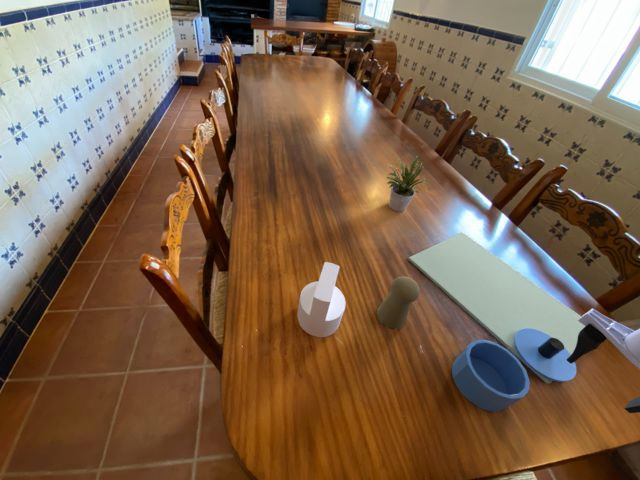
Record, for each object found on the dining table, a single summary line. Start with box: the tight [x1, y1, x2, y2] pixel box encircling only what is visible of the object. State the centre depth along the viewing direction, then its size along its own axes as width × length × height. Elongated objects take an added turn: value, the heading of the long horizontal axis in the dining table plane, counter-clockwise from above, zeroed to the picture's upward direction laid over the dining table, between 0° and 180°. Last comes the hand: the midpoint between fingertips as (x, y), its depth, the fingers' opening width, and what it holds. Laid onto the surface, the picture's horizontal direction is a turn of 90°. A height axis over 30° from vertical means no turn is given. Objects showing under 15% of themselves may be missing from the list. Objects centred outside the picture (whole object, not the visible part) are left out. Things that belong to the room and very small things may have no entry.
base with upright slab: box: [296, 261, 347, 338], centre depth 58 cm, size 9×9×12 cm
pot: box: [451, 339, 531, 413], centre depth 52 cm, size 10×10×6 cm
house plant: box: [385, 153, 431, 212], centre depth 90 cm, size 14×14×16 cm
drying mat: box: [407, 231, 585, 385], centre depth 70 cm, size 34×22×1 cm, turn 30°
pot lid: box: [514, 328, 578, 383], centre depth 56 cm, size 10×10×5 cm
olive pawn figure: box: [376, 275, 420, 330], centre depth 60 cm, size 6×6×11 cm
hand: (598, 381), depth 45 cm, fingers open, 7 cm apart
